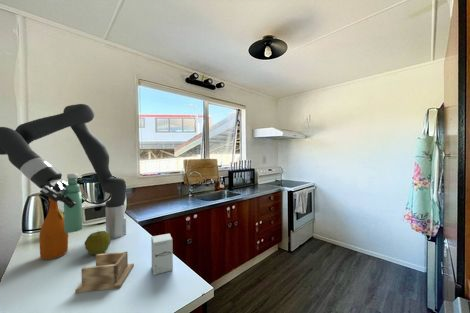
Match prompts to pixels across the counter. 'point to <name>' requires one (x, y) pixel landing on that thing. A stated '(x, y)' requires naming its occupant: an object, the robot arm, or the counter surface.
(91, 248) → the apple
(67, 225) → the green bottle
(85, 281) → the U stand
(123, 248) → the counter surface
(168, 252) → the supplement box
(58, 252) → the wine bottle
